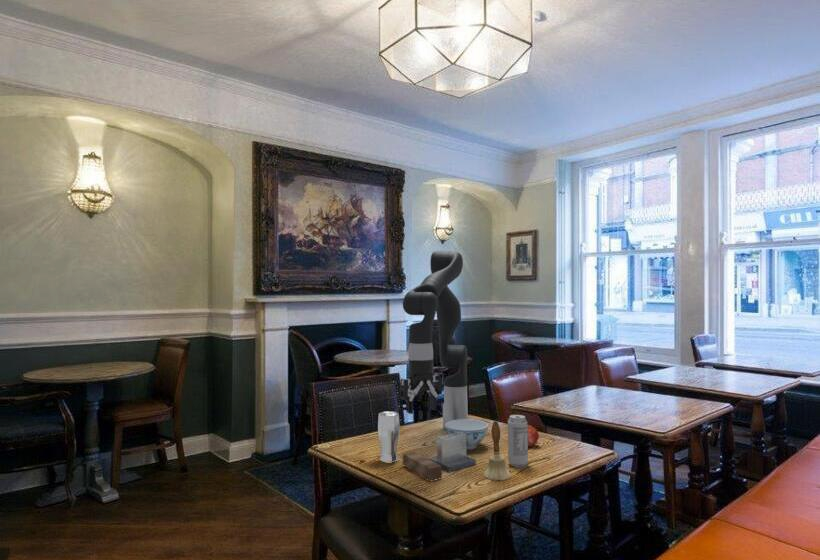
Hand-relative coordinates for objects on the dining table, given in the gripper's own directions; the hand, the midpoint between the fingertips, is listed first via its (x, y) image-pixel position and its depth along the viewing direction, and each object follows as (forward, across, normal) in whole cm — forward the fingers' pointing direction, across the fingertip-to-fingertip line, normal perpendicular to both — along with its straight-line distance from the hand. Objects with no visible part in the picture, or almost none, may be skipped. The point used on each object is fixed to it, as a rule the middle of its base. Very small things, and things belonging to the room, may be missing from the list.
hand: (421, 411), depth 155 cm
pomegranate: (+18, -46, +1) cm, 50 cm away
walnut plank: (+18, 0, 0) cm, 19 cm away
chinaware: (+18, -28, -11) cm, 35 cm away
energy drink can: (+18, -28, +13) cm, 36 cm away
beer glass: (+18, +2, -15) cm, 24 cm away
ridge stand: (+18, -12, 0) cm, 22 cm away
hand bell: (+18, -16, +16) cm, 29 cm away
